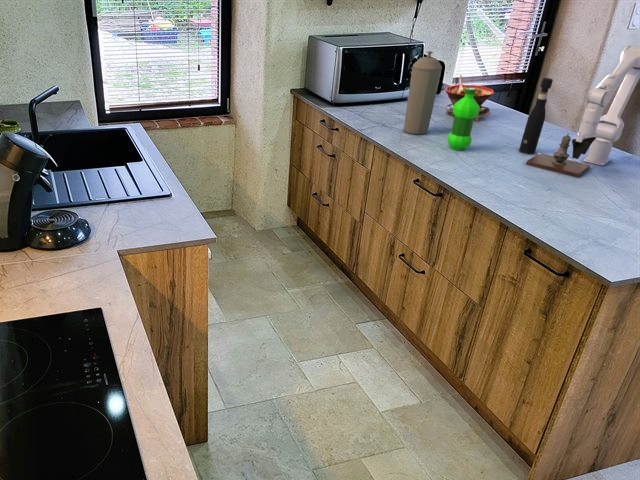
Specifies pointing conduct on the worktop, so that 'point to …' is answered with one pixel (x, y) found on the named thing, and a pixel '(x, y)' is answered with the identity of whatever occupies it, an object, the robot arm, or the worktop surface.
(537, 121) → the black bottle
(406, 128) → the canister
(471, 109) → the plastic bottle
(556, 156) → the grey stone baluster
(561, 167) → the cutting board
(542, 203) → the worktop surface
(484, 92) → the stew
